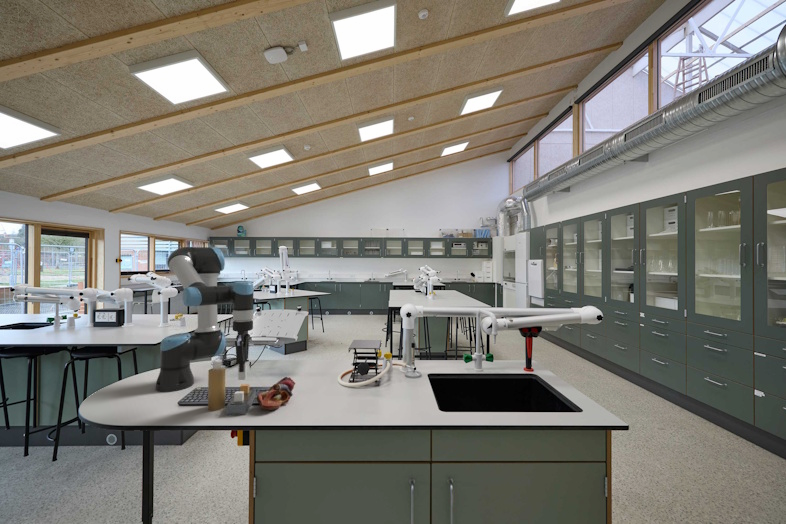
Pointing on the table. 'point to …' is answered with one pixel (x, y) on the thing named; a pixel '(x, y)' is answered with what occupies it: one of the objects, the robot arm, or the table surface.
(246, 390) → the paddle
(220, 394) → the amber pump bottle
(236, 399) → the paddle
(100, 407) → the table surface
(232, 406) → the breaker strip
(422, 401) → the table surface
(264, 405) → the anatomical model
